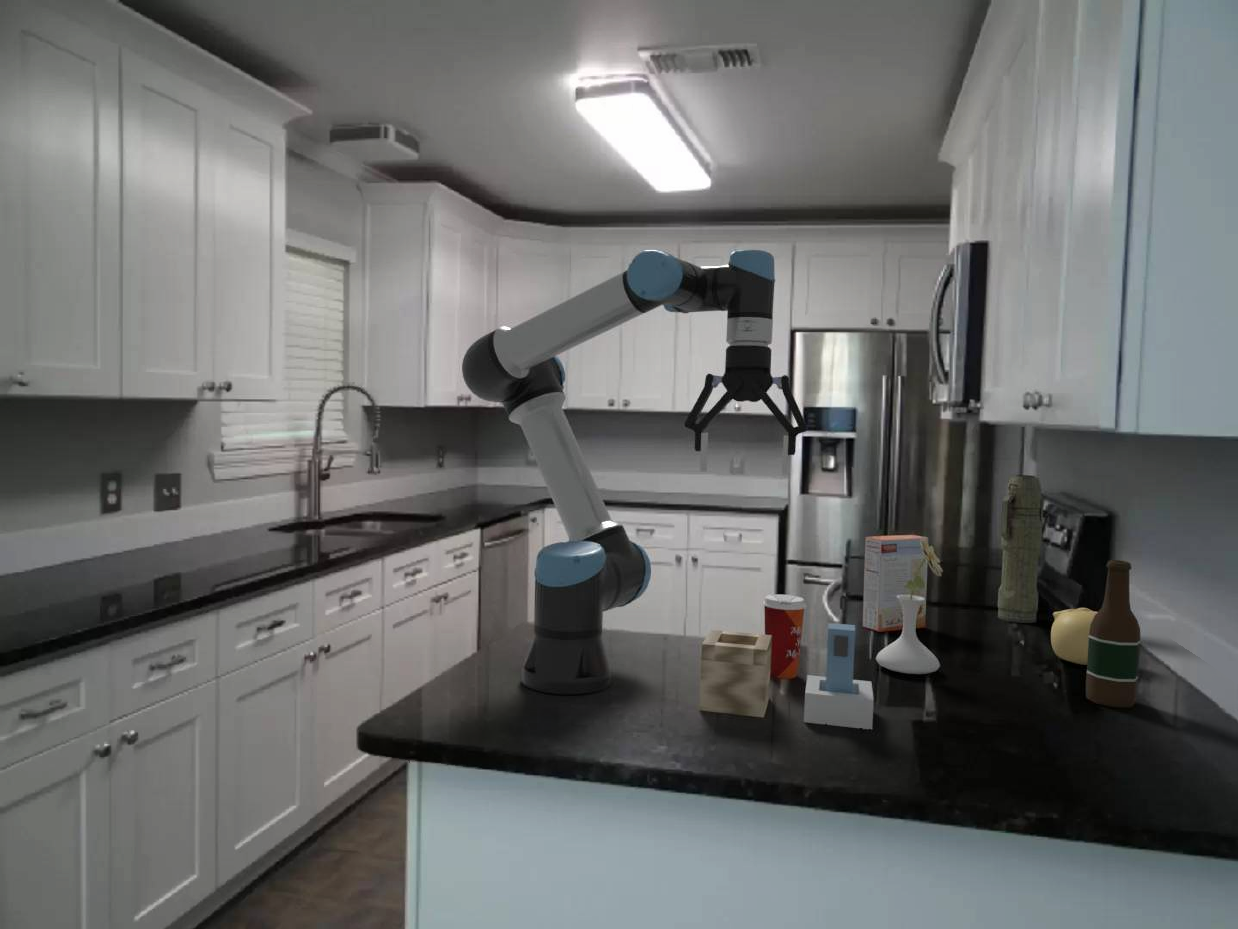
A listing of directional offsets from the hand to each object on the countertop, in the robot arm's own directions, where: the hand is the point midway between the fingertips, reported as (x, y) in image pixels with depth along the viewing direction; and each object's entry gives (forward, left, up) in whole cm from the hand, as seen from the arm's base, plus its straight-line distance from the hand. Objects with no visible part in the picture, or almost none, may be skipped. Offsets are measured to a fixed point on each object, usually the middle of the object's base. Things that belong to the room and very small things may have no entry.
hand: (743, 473), depth 148 cm
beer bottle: (+62, +16, -37) cm, 74 cm away
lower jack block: (+17, -8, -37) cm, 41 cm away
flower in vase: (+30, +24, -37) cm, 53 cm away
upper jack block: (+1, -8, -37) cm, 38 cm away
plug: (+17, -8, -35) cm, 39 cm away
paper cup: (+7, +12, -37) cm, 39 cm away
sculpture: (+64, +43, -37) cm, 86 cm away
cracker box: (+29, +60, -37) cm, 76 cm away
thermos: (+59, +82, -37) cm, 108 cm away
